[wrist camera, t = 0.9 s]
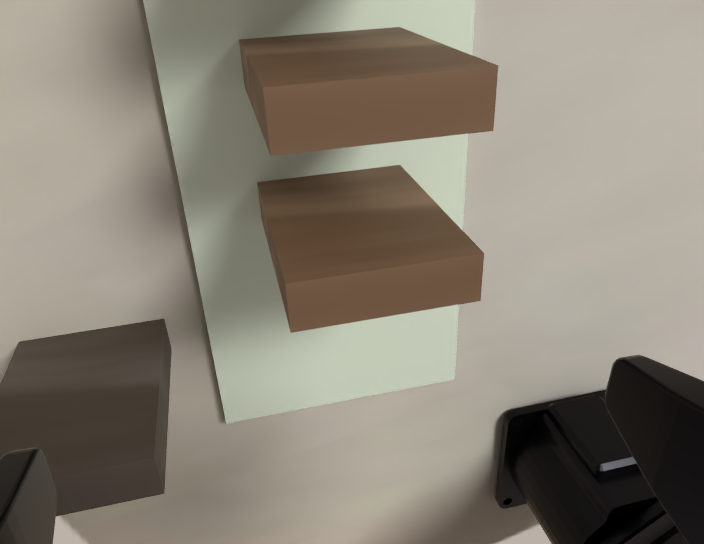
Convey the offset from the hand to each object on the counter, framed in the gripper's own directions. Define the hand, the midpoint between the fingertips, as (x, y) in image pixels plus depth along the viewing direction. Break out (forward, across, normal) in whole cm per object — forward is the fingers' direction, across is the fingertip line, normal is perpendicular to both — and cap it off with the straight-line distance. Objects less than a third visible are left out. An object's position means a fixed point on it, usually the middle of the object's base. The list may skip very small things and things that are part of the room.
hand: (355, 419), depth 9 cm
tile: (+13, +7, +6) cm, 16 cm away
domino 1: (+12, -2, -4) cm, 13 cm away
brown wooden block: (+12, -2, +1) cm, 13 cm away
